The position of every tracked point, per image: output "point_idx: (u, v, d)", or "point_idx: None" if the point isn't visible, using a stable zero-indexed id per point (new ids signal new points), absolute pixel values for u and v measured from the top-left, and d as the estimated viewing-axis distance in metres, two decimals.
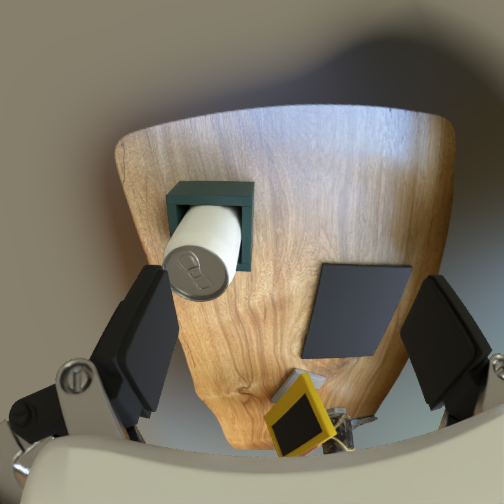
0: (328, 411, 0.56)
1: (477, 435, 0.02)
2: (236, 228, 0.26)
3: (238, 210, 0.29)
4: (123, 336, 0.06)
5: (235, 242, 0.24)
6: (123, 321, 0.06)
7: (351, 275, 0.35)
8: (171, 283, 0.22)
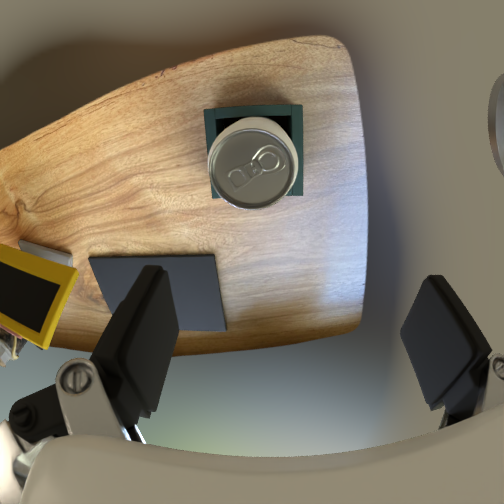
0: None
1: (477, 435, 0.02)
2: None
3: None
4: (122, 336, 0.06)
5: None
6: (123, 321, 0.06)
7: (207, 283, 0.36)
8: (230, 136, 0.16)
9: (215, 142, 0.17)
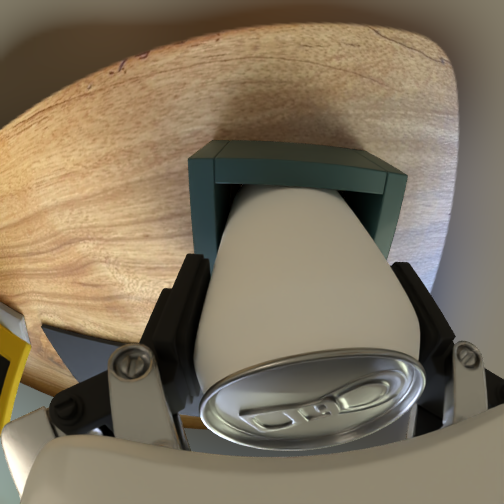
0: None
1: (477, 435, 0.02)
2: None
3: None
4: (179, 319, 0.06)
5: None
6: (176, 305, 0.07)
7: None
8: None
9: (216, 334, 0.06)
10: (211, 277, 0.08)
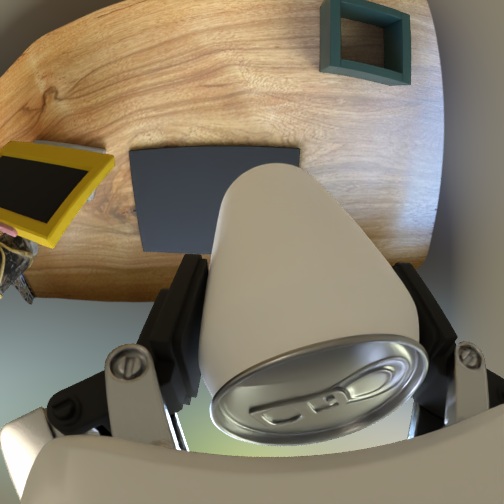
0: None
1: (477, 435, 0.02)
2: None
3: None
4: (176, 320, 0.06)
5: None
6: (173, 306, 0.07)
7: None
8: None
9: (224, 331, 0.06)
10: (209, 277, 0.08)
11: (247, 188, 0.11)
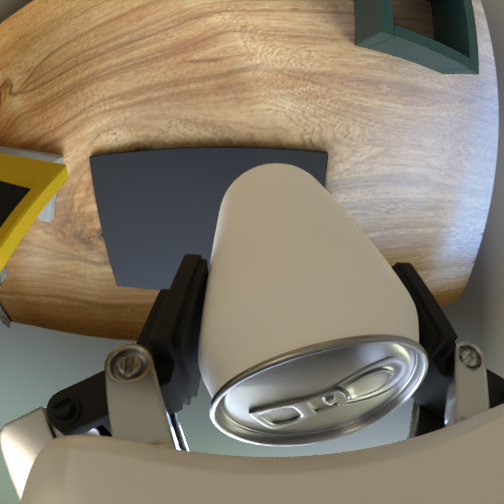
0: None
1: (477, 435, 0.02)
2: None
3: None
4: (176, 320, 0.06)
5: None
6: (173, 306, 0.07)
7: None
8: None
9: (224, 332, 0.06)
10: (209, 277, 0.08)
11: (247, 188, 0.11)
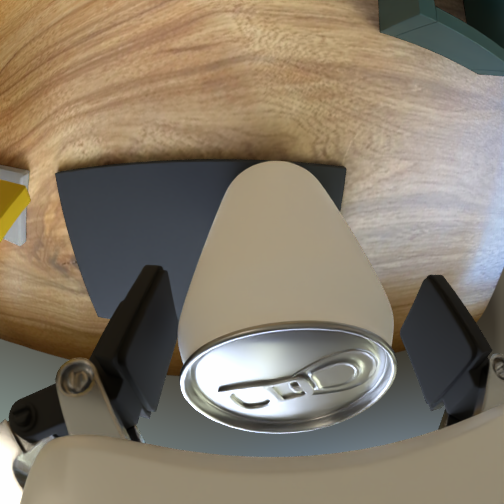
0: None
1: (477, 435, 0.02)
2: None
3: None
4: (122, 336, 0.06)
5: None
6: (123, 321, 0.06)
7: None
8: None
9: (195, 310, 0.06)
10: (197, 264, 0.09)
11: (243, 184, 0.12)
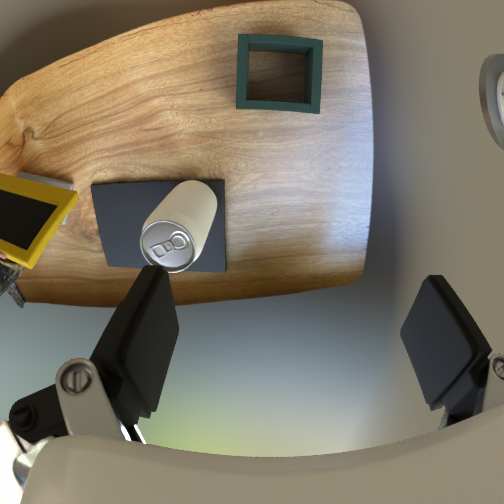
0: None
1: (477, 435, 0.02)
2: None
3: None
4: (123, 336, 0.06)
5: None
6: (123, 321, 0.06)
7: None
8: (153, 224, 0.24)
9: (145, 224, 0.25)
10: None
11: (171, 191, 0.30)
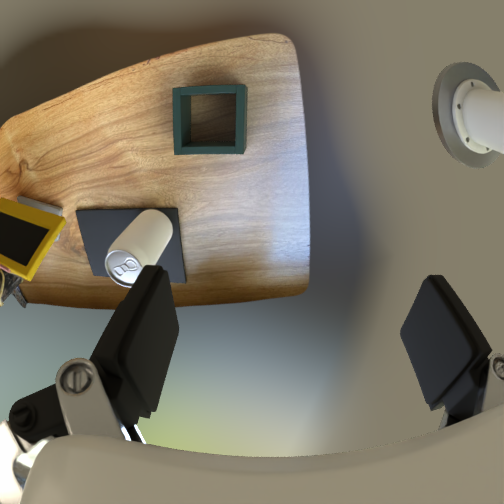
0: None
1: (477, 435, 0.02)
2: None
3: None
4: (122, 336, 0.06)
5: None
6: (123, 321, 0.06)
7: None
8: (112, 252, 0.30)
9: (108, 250, 0.31)
10: None
11: (133, 220, 0.37)
